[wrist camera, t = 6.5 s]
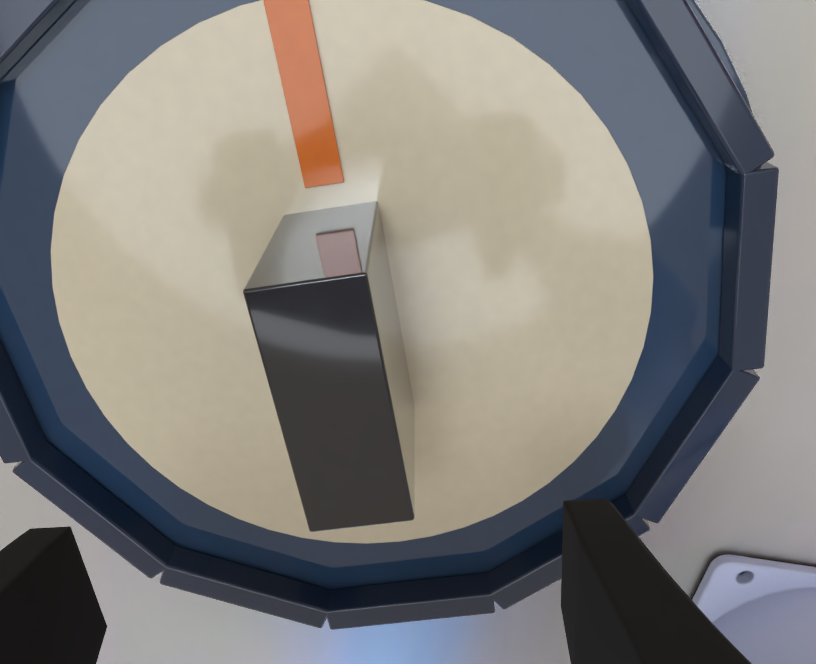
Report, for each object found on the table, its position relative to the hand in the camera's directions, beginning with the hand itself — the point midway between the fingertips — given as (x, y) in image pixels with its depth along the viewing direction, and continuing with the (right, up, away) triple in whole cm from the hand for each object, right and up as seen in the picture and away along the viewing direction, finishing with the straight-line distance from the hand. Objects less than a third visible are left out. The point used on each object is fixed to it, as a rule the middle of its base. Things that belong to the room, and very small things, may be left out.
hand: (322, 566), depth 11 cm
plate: (0, +4, +6) cm, 7 cm away
